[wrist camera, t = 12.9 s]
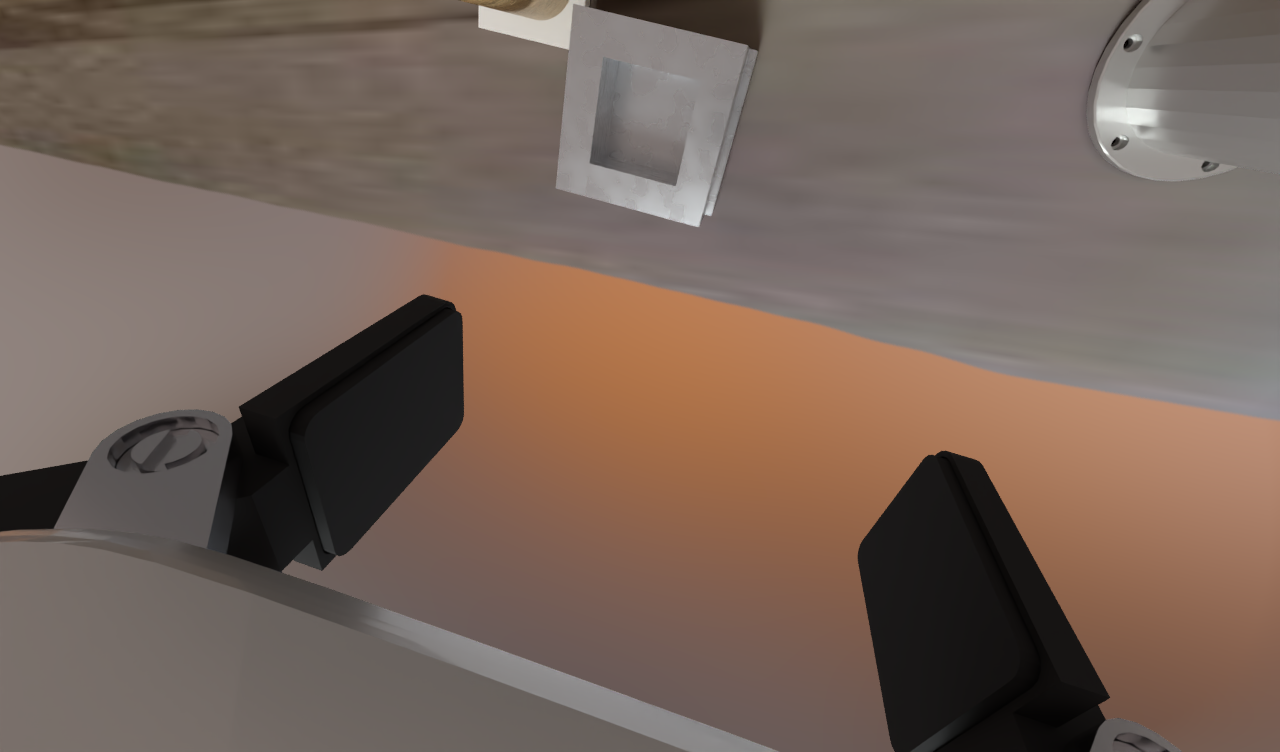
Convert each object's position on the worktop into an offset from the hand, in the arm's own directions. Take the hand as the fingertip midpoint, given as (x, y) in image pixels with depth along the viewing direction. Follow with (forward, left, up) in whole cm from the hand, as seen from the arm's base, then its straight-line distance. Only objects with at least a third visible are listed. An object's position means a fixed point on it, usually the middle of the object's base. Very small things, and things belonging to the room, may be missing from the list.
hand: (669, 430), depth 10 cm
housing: (+8, -2, -33) cm, 34 cm away
